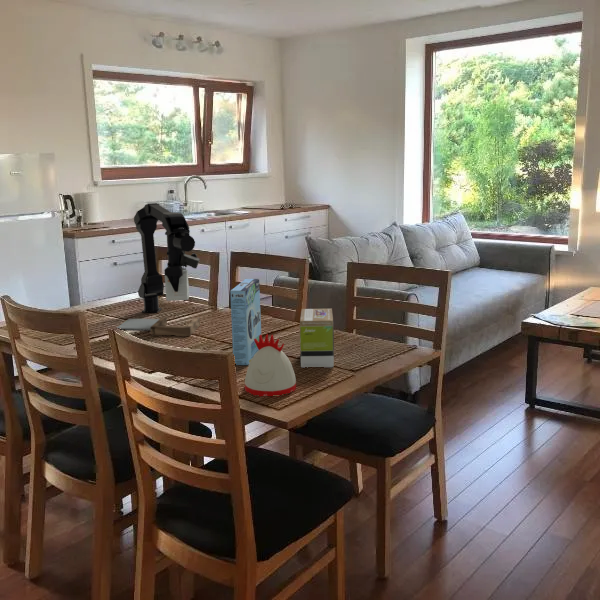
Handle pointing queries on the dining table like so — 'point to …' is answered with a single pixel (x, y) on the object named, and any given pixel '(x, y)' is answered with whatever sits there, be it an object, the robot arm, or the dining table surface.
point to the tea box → (316, 338)
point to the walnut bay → (174, 328)
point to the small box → (182, 289)
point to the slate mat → (138, 324)
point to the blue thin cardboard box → (245, 320)
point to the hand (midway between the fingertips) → (177, 290)
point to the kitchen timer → (269, 370)
